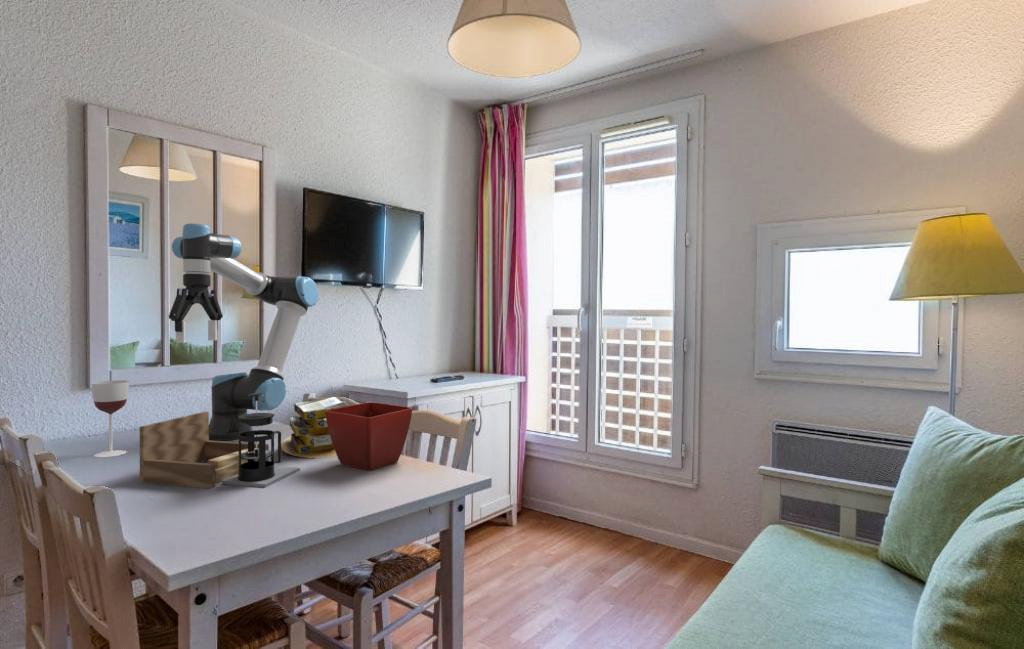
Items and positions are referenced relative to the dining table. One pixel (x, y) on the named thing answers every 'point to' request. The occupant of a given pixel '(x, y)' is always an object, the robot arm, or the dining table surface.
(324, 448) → the stacked boxes on plate
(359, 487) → the dining table surface
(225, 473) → the offcut stack
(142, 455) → the wooden box
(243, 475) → the french press
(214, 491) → the dining table surface
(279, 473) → the slate mat
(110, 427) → the wineglass
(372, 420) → the plant pot
